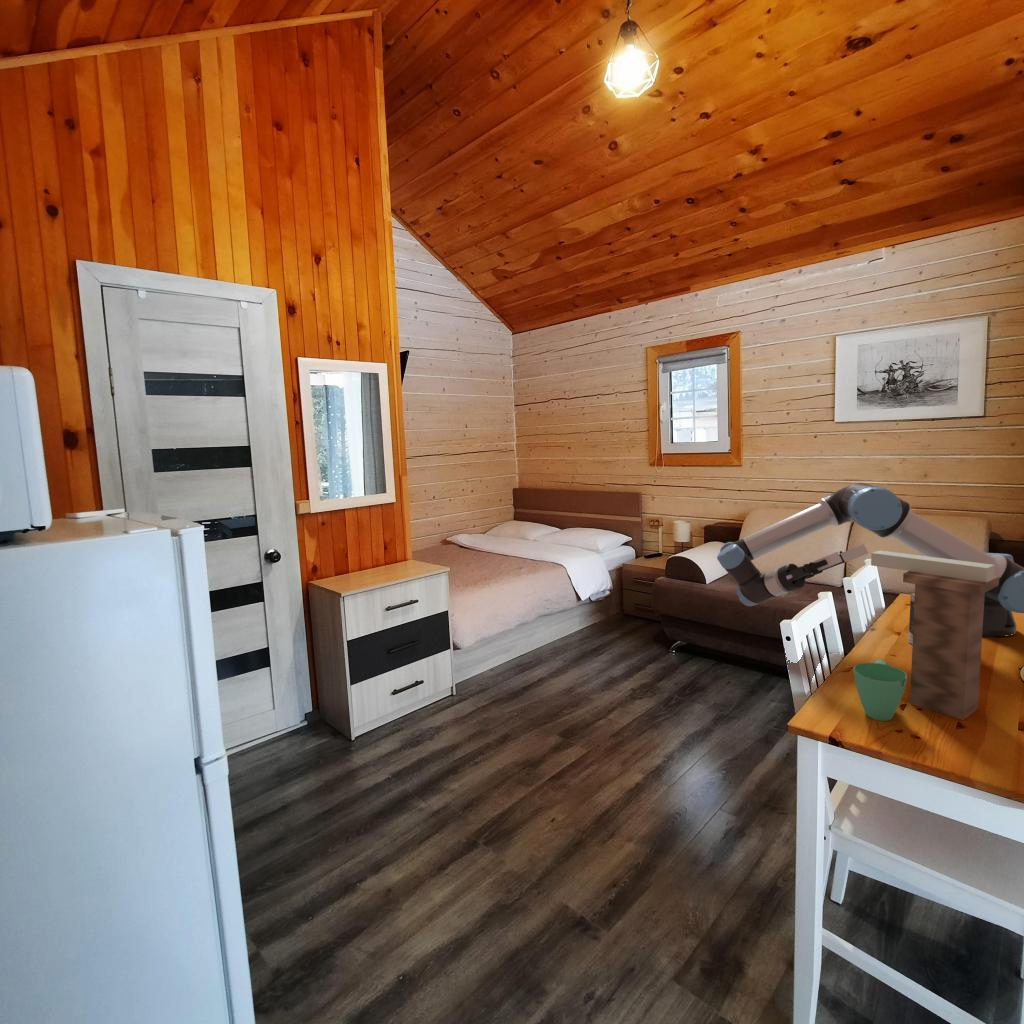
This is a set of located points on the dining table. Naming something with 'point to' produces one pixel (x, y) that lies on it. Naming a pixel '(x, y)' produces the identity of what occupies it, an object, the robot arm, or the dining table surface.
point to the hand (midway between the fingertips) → (852, 552)
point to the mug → (880, 688)
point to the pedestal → (947, 642)
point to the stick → (934, 565)
